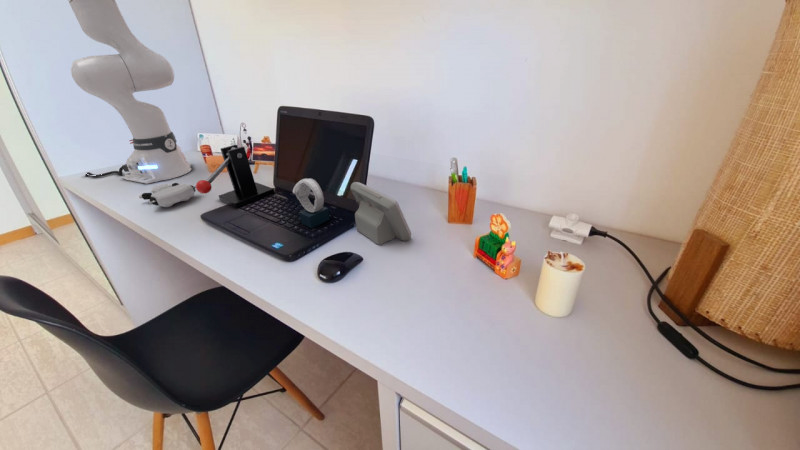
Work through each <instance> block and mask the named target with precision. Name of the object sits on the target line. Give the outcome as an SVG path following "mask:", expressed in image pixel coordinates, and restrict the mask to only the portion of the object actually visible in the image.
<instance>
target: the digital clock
mask: <svg viewBox="0 0 800 450" xmlns="http://www.w3.org/2000/svg"><path fill="white" fill-rule="evenodd" d="M350 191H351V193H352V195H353V197H354V199H355V202H356V203H357V204H358V208H357V210H356V211H355V213H354V221H355V228H356V231H358V232H359V233H360V234H362V236H365V237H366V238H367V239H369V240H371V242H373V243H375V244H376V245H378V246H381V245H383V244H384V243H387V242H389V241H392V240H394V239H396V238H397V239H399V240H400V241H404V242H405V241H406V242H407V241H409V240H411V237H412V231H411V229H410V227H409V225H408V222H407V220H406V218H405V215H404V213H403V211H402V209H401V206H400V204H399V203H398V201H397V200H396V199H395V198H392V197H391V196H388V195H386V194H384V193H383V192H380V191H378V190H376V189H374V188H372V187H370V186H368V185H366V184H364V183H362V182H360V181H353V182H352V183H351V184H350Z"/></svg>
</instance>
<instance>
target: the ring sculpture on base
mask: <svg viewBox="0 0 800 450" xmlns="http://www.w3.org/2000/svg"><path fill="white" fill-rule="evenodd" d="M310 192H312V193H313V195H314V201H313V202H314V203H312V202H311V201H310V198H309V196H310ZM292 194H293V195H295V197H296V199H297V200H298V201H299V203H300V204H301V206H302V207H303V208H304V209H303V210H301V211H299V212H298V214H299V219H300V223H301V225H304V226H305V227H307V228H310V229H314V228H316V227H318V226H320V225H322V224H324V223H326V222H328V221H330V220H331V217H330V211H329V208H328V207H326V206H324V204H325V197H324V193H323V191H322V188H321V186H320V185H319V183H318V182H317V181H316V179H313V178H311V177H310V178H302V179H300V180H299V181H298V182H296V184H295V185H294V186H293V188H292Z"/></svg>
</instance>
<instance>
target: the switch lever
mask: <svg viewBox="0 0 800 450" xmlns="http://www.w3.org/2000/svg"><path fill="white" fill-rule="evenodd" d="M232 149H235V148H234V147H232V148H231V149H230V150H232ZM226 155H227V156H228V158H227V159H226V160H225V161H224V160H223V162H221V164H219V166H218V167H217V168H216V169H215V170H214V171H213V172H212V173H211V174H210V175H209V176H208V177H207V179H206V180H205V179H200V180H198V181H197V182H196V184H195V186H196V187H195V190H196V191H197V192H198V193H200V194H209V193H210V192H211V191H212V188H213V187H212V183H213V182H214V181H215V179H216V178H217V177H218V176H219V175H220V174H221V173H222V172H223V171H224V170H225V169H226V168H227V167H226V166H227V165H228V164H229V163H230V162H231V161H230V158H229V154H228V152H227V153H226Z"/></svg>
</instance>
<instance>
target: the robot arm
mask: <svg viewBox="0 0 800 450" xmlns="http://www.w3.org/2000/svg"><path fill="white" fill-rule="evenodd" d="M67 1H68V3H69V6H70V8H71V10H72V12H73V13H74V16H75V18H76V20H77V22H78V23H79V26H80V28H81V30H82V31H83V33H84V34H85V35H86V36H87V37H89V38H90V39H91V40H93V41H95V42H97V43H100V44H104V45H107V46H109V47H111V48H112V49H114V50H116V51H117V54H100V55H99V54H98V55H89V56H85V57H81V58H77V59H74V60H73V62H72V63H71V67H70V73H71V77H72V79H73V81H74V83H75V84H76V85H77V86H78V87H79V88H80V89H81V90H83V91H84V92H85V93H87V94H89V95H90V96H93V97H97V98H98V99H101V100H102V101H104V102H106V103H107V104H109V105H110V106H112V108H114V109H115V110H116V111H117V112H118V113H119V115H120V116H121V117H122V119H123V121H124V122H125V125H126V126H127V128H128V129H129V132H130V134H131V135H132V137H133V138H132V139H129V140H128V142H129V144H130V145H133V146H132V147H133V149H134V150H133V151H132V153H131V154H130V155H129V157H128V158H127V160H126V162H125V164H123V165H121V167H120V168H119V169H118V170H111V171H108V172H103V173H99V174H94V173H91V172H86V173H87V174H89V175H87V174H86V173H85V175H84V178H87V177H89V176H90V175H96V176H91V178H102V177H107V176H110V175H115V174H117V175H118V176H122V177H123V180H126V181H131V182H136V183H141V184H146V185H147V184H153V183H156V182H160V181H167V180H172V179H174V178H175V179H176V178H179V177H181V176H184V175H186V174H188V173H190V172H191V171H192V164H191V162H188V160H187V158H186V156H185V154H184V152H183V150H182V149H181V147H180V145H179V144H177V139H176V135H175V134H174V132H173V131H172V130H171V127H170V124H169V122H168V120H167V117H166V115H165V113H164V111H163V110H162V108H160V107H159V106H157V105H155V104H152V103H148V102H146V101H140V100H138V99H137V98H135V96H134V93H139V92H148V91H157V90H160V89H163V88H167V87H169V86H172V84H173V83H174V80H175V72H174V69H173V66H172V65H171V63H170V62H169V61H168V60H167V59H166V57H164V56H163V55H161V54H159V53H157V52H156V51H154V50H152V49H150V48H149V47H147V46H146V45H144V43H142V42H141V41H140V40H139V39H138V38H137V37H136V36H135V34H134V33H133V32H132V31H131V29H130V28H129V26H128V24H127V22H126V19H125V18H124V16H123V15H122V12H121V11H120V8H119V6H118V4H117V2H116V0H67ZM123 172H126V174H124V175H123ZM101 174H102V175H101Z"/></svg>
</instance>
